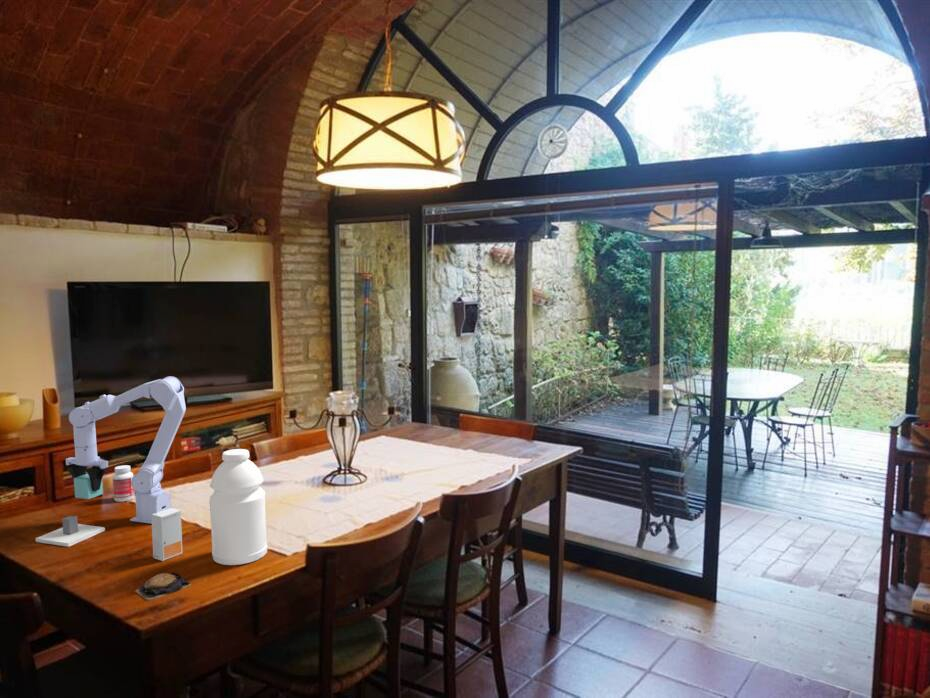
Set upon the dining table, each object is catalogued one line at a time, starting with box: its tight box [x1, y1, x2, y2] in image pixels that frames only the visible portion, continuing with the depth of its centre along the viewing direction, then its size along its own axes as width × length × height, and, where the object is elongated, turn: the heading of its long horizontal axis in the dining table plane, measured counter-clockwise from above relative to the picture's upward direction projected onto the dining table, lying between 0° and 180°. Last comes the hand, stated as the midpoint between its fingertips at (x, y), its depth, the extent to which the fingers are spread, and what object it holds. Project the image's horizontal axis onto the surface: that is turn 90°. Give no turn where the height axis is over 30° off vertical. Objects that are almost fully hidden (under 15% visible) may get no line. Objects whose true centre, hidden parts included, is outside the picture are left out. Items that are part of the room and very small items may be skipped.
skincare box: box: [151, 507, 183, 562], centre depth 171 cm, size 6×4×12 cm
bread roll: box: [134, 571, 191, 602], centre depth 153 cm, size 11×8×4 cm
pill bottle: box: [112, 464, 135, 503], centre depth 217 cm, size 6×6×11 cm
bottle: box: [208, 448, 268, 566], centre depth 170 cm, size 14×14×28 cm
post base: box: [34, 515, 106, 548], centre depth 185 cm, size 12×12×6 cm
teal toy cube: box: [73, 473, 104, 500], centre depth 196 cm, size 5×5×6 cm
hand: (88, 489), depth 196 cm, fingers closed on teal toy cube, 5 cm apart
